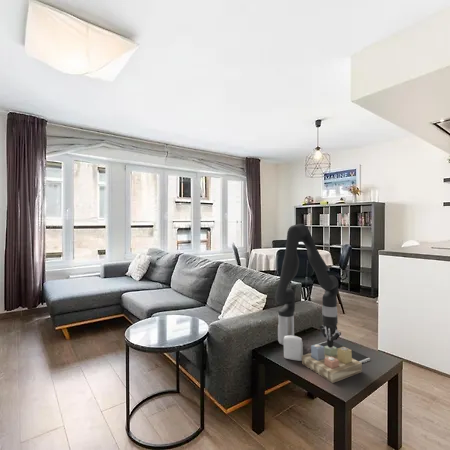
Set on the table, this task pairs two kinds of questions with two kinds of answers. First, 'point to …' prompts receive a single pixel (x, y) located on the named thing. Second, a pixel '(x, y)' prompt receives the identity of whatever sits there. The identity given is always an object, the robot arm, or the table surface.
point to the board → (329, 373)
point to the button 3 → (331, 362)
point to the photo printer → (293, 348)
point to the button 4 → (344, 355)
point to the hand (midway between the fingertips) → (330, 346)
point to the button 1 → (317, 352)
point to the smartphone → (355, 355)
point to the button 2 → (330, 351)
